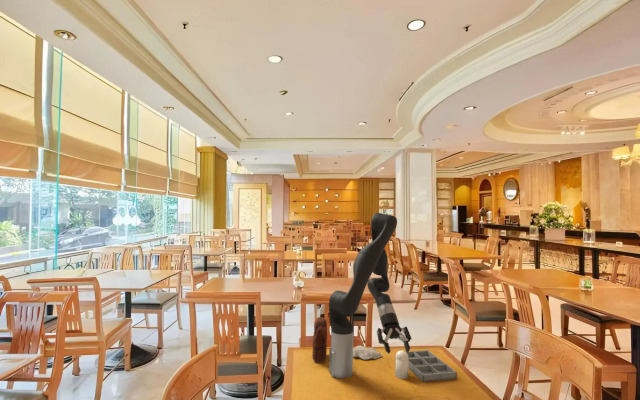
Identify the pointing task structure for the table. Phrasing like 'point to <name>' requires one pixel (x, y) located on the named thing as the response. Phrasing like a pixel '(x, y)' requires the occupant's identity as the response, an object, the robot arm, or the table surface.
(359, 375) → the table surface
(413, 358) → the grey compartment tray
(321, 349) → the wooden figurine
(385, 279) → the robot arm
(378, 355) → the decorative stone
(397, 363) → the cream rounded cylinder
